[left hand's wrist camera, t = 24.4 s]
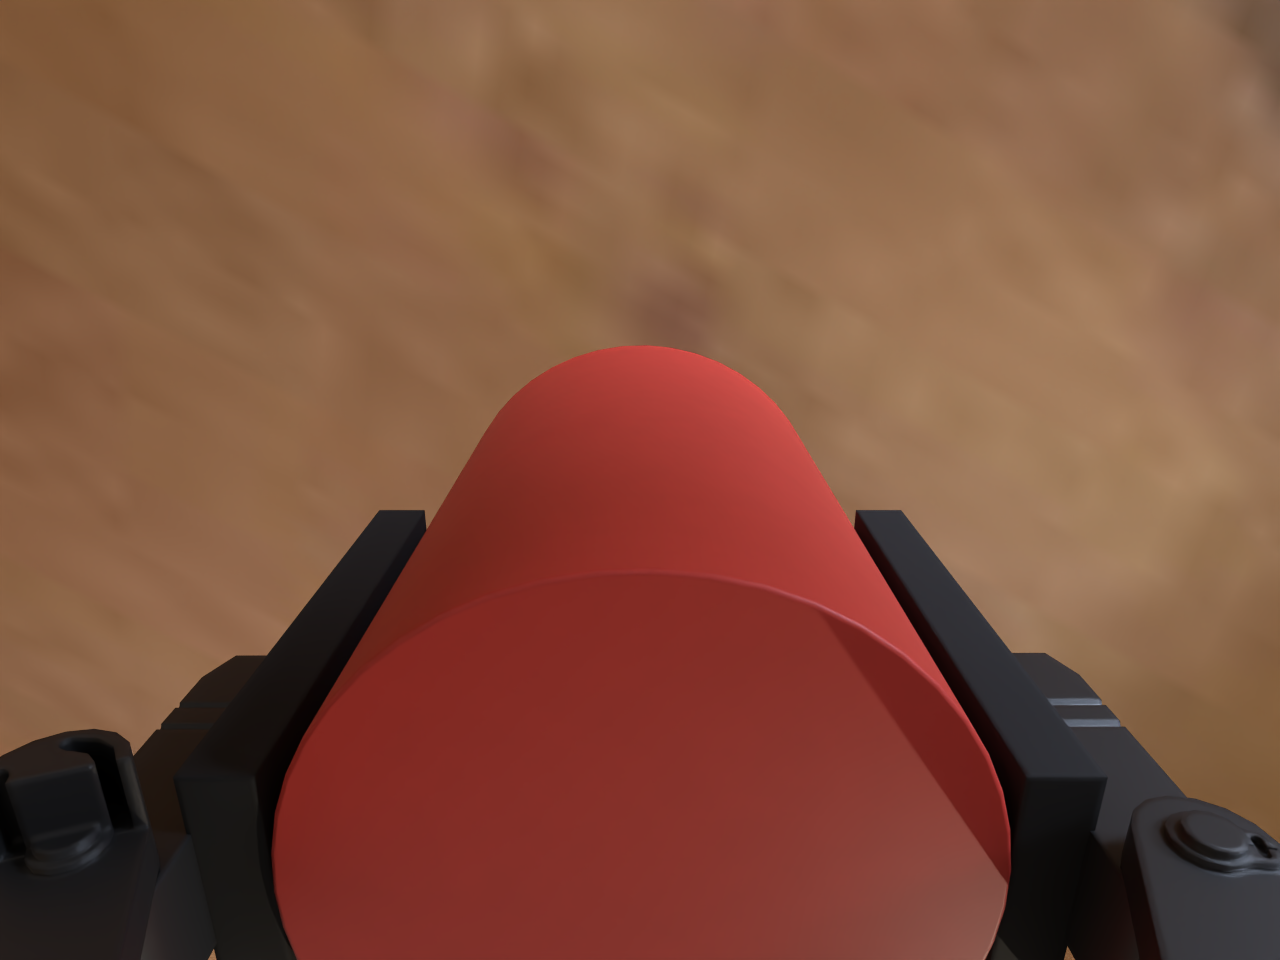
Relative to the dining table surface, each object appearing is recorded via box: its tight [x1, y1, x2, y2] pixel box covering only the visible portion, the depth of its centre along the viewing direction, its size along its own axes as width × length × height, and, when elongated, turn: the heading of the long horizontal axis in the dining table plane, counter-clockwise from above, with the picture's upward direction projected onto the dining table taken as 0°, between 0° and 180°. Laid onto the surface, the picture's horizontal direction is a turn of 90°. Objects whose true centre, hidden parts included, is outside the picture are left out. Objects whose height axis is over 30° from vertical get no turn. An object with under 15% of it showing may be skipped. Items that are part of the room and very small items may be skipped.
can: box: [271, 345, 1011, 960], centre depth 13 cm, size 7×7×10 cm
